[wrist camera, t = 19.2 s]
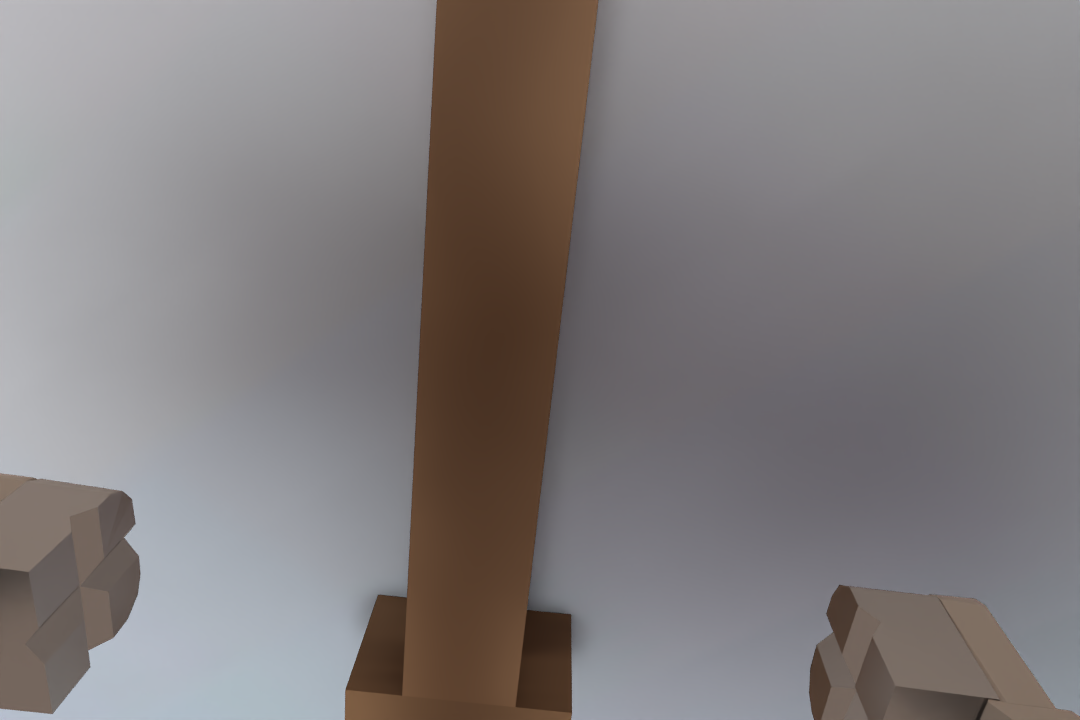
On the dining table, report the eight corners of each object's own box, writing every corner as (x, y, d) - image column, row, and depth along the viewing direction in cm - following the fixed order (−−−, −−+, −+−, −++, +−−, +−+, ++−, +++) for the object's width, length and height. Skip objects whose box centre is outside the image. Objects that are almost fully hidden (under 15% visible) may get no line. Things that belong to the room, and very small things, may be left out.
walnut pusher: (676, -125, 18) (705, -171, 14) (565, 651, 25) (565, 755, 22) (404, -156, 18) (360, -210, 14) (377, 632, 25) (344, 733, 22)
